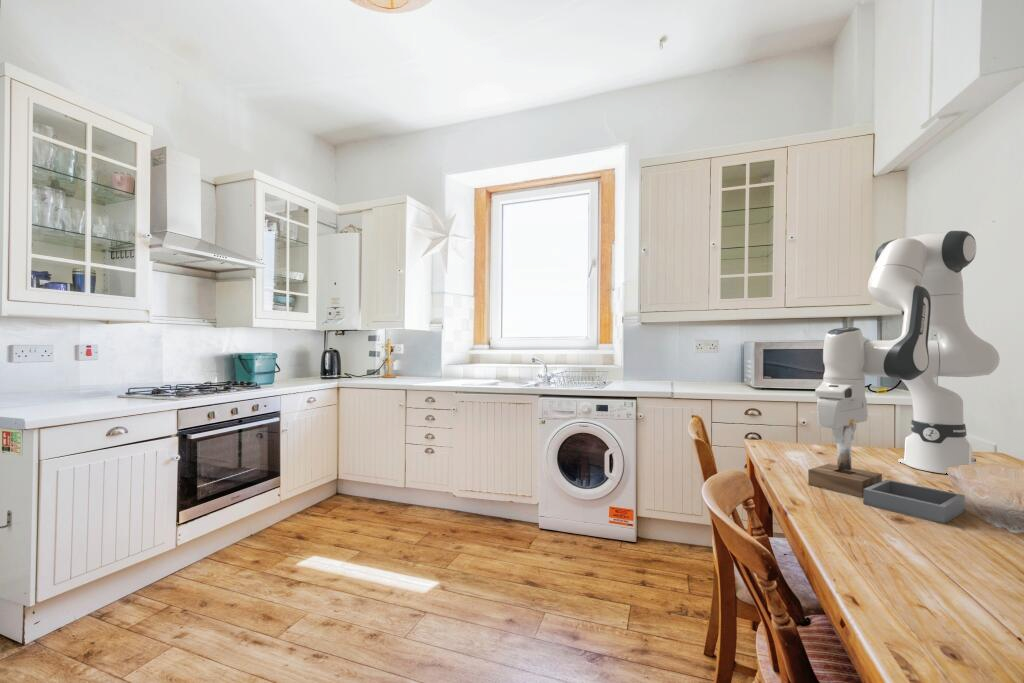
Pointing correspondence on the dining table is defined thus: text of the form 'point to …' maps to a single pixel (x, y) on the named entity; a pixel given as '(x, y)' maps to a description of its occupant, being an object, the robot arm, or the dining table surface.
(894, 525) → the dining table surface
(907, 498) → the tray
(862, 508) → the dining table surface
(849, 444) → the clear capped tube
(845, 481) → the block
